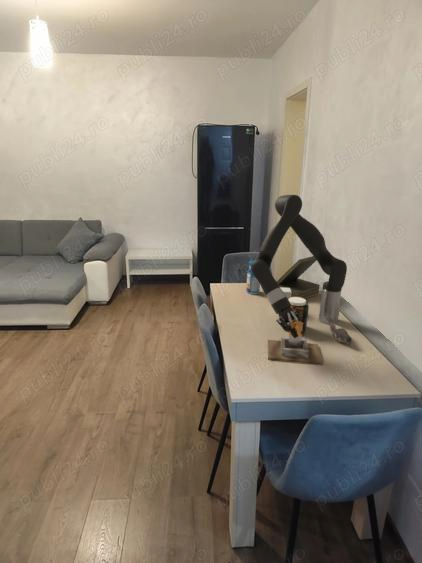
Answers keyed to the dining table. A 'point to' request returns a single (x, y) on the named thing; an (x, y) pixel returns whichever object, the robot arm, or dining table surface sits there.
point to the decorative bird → (339, 332)
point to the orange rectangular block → (298, 328)
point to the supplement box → (287, 292)
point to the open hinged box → (298, 285)
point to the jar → (300, 309)
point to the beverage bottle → (252, 281)
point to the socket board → (294, 352)
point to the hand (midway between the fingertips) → (299, 335)
